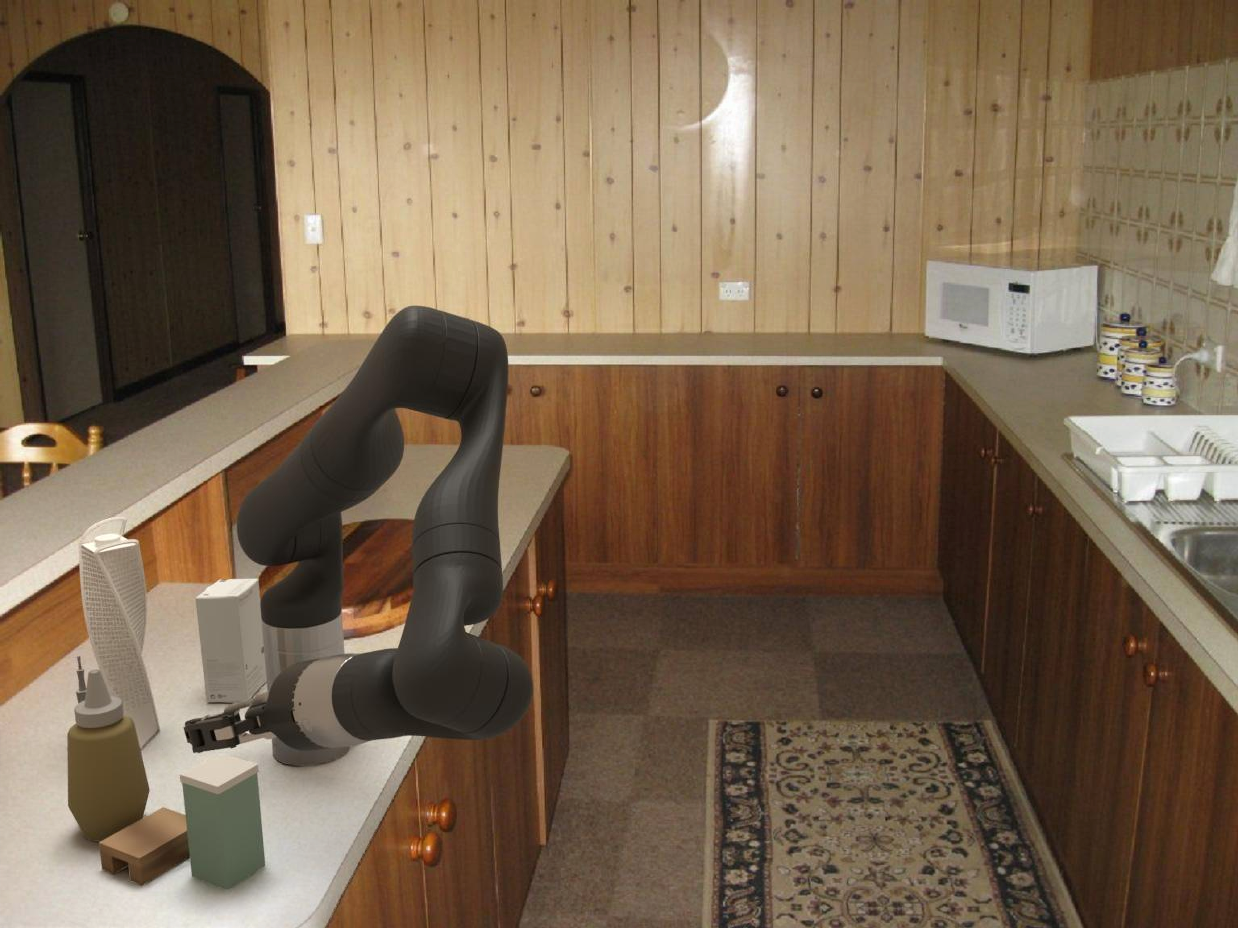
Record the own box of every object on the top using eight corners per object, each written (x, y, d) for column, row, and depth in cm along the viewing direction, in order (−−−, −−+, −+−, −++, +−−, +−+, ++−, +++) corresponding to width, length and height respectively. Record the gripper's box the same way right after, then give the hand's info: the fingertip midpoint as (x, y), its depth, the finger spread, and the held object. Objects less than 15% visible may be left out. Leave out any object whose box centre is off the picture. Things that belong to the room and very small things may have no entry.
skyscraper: (111, 726, 158) (86, 514, 151) (173, 727, 157) (151, 514, 151) (79, 757, 150) (52, 534, 143) (145, 758, 149) (120, 534, 143)
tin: (230, 852, 128) (220, 752, 125) (266, 865, 125) (258, 764, 123) (190, 876, 124) (179, 774, 121) (227, 891, 121) (217, 786, 118)
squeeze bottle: (72, 855, 128) (51, 693, 123) (71, 819, 135) (52, 664, 130) (155, 838, 131) (138, 679, 126) (150, 803, 138) (134, 651, 134)
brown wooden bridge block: (165, 832, 132) (163, 807, 131) (205, 847, 129) (203, 821, 128) (101, 869, 125) (98, 842, 124) (142, 885, 122) (139, 858, 121)
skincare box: (248, 704, 163) (238, 597, 159) (203, 703, 163) (193, 596, 160) (269, 678, 171) (261, 576, 168) (227, 678, 171) (217, 575, 168)
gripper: (388, 634, 109) (285, 655, 119) (250, 683, 98) (149, 701, 108) (411, 717, 109) (306, 731, 119) (275, 775, 98) (172, 784, 108)
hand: (231, 717), depth 114 cm, fingers open, 8 cm apart
